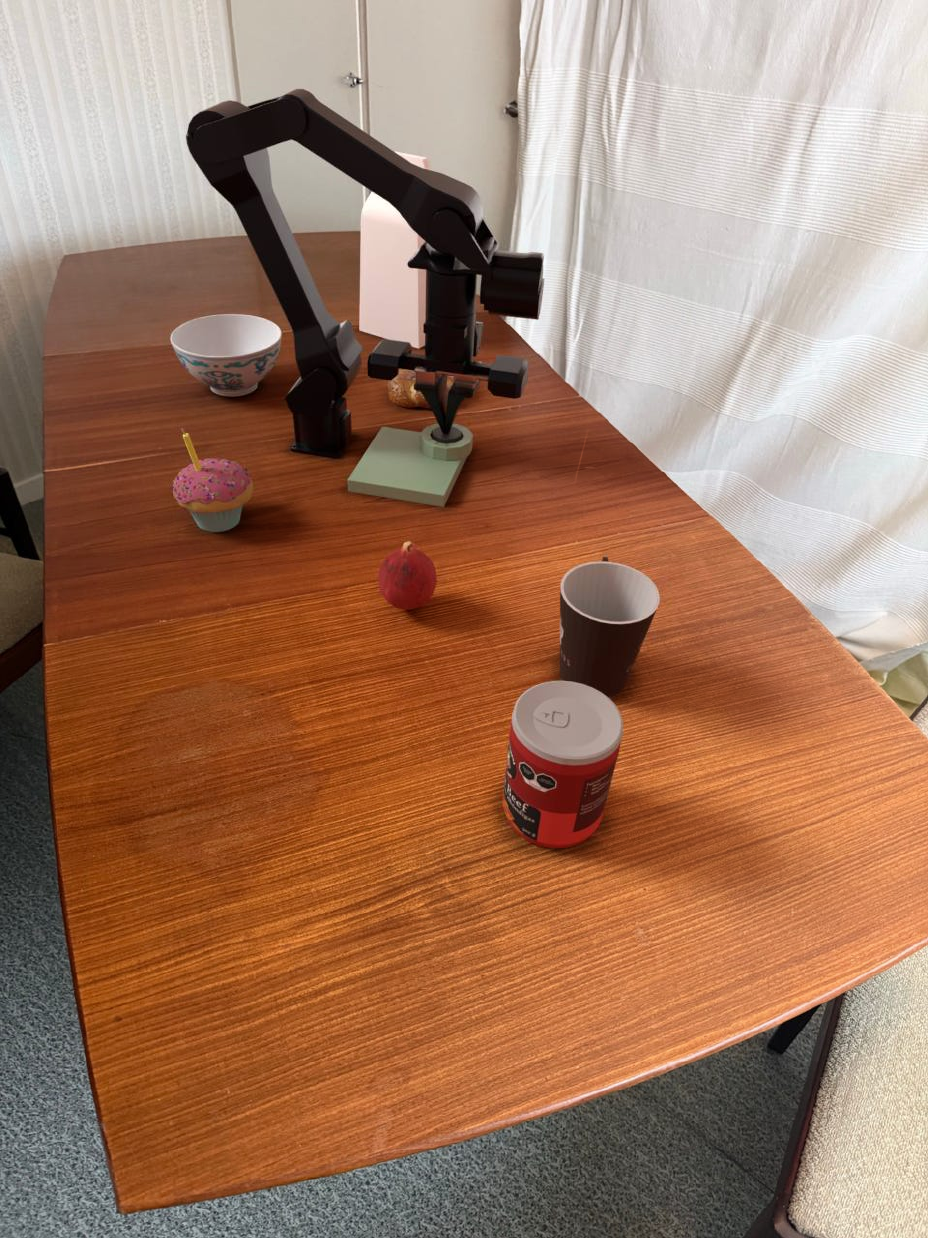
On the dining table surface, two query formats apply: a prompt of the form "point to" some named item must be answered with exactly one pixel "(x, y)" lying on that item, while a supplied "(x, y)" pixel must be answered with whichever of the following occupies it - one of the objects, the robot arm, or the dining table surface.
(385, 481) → the green flat block
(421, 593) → the onion
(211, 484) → the cupcake
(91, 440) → the dining table surface
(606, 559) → the coffee mug
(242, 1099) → the dining table surface
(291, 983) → the dining table surface
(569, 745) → the canned food
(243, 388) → the chinaware
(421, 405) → the twisted bread ring
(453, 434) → the button
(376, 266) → the milk
